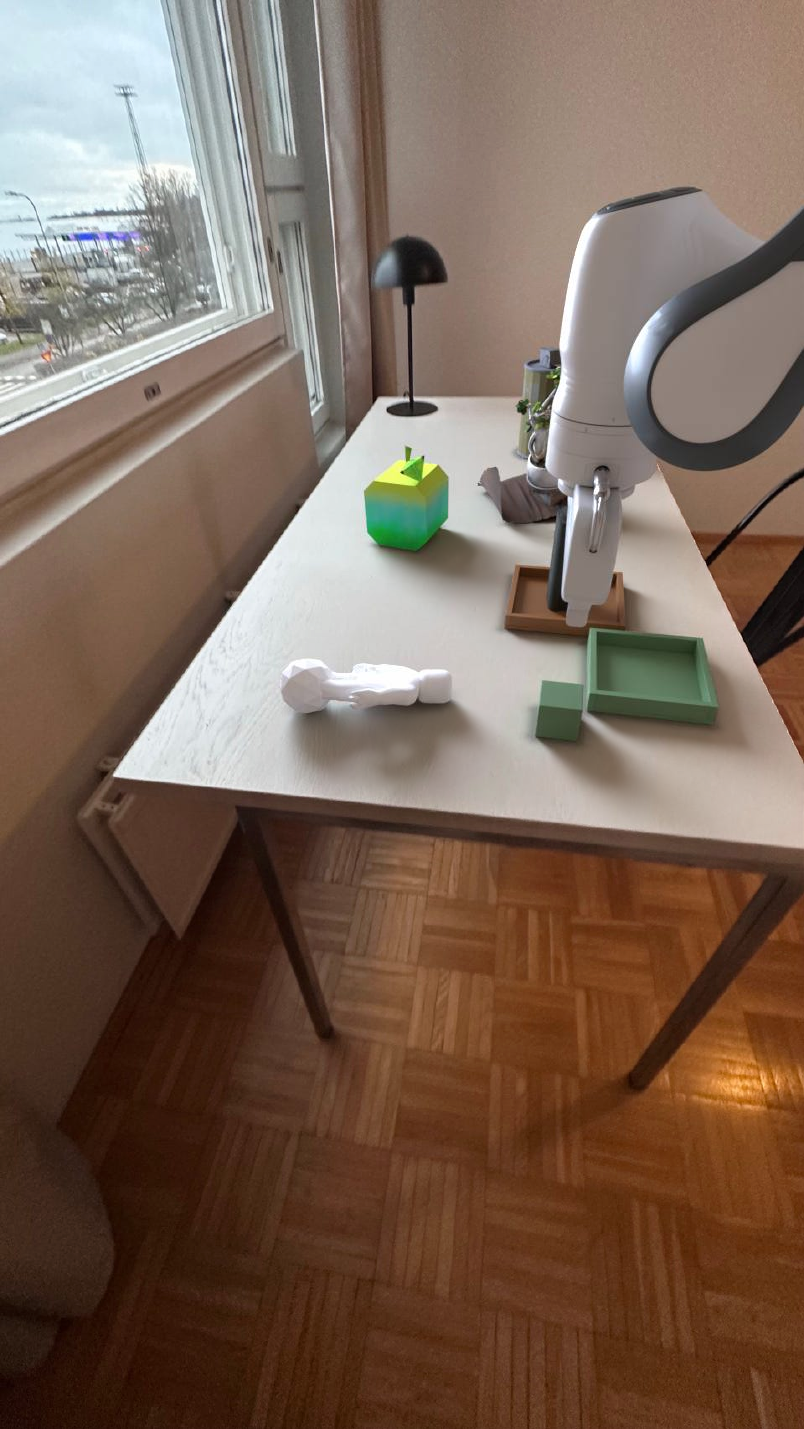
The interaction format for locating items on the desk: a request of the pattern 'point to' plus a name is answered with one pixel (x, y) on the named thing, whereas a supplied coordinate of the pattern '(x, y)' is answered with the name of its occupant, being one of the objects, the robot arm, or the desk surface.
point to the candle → (557, 564)
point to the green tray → (649, 676)
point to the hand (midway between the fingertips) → (576, 596)
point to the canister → (537, 390)
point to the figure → (361, 686)
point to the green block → (559, 710)
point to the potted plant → (529, 472)
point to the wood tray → (534, 615)
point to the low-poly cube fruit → (407, 503)
